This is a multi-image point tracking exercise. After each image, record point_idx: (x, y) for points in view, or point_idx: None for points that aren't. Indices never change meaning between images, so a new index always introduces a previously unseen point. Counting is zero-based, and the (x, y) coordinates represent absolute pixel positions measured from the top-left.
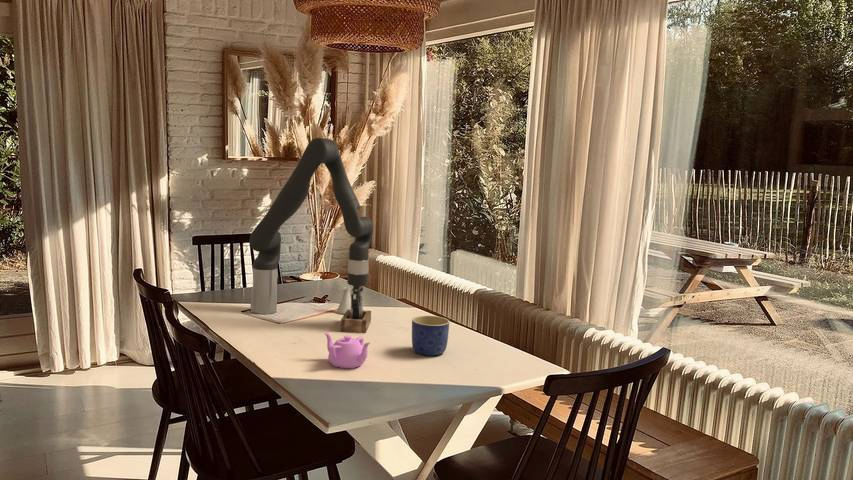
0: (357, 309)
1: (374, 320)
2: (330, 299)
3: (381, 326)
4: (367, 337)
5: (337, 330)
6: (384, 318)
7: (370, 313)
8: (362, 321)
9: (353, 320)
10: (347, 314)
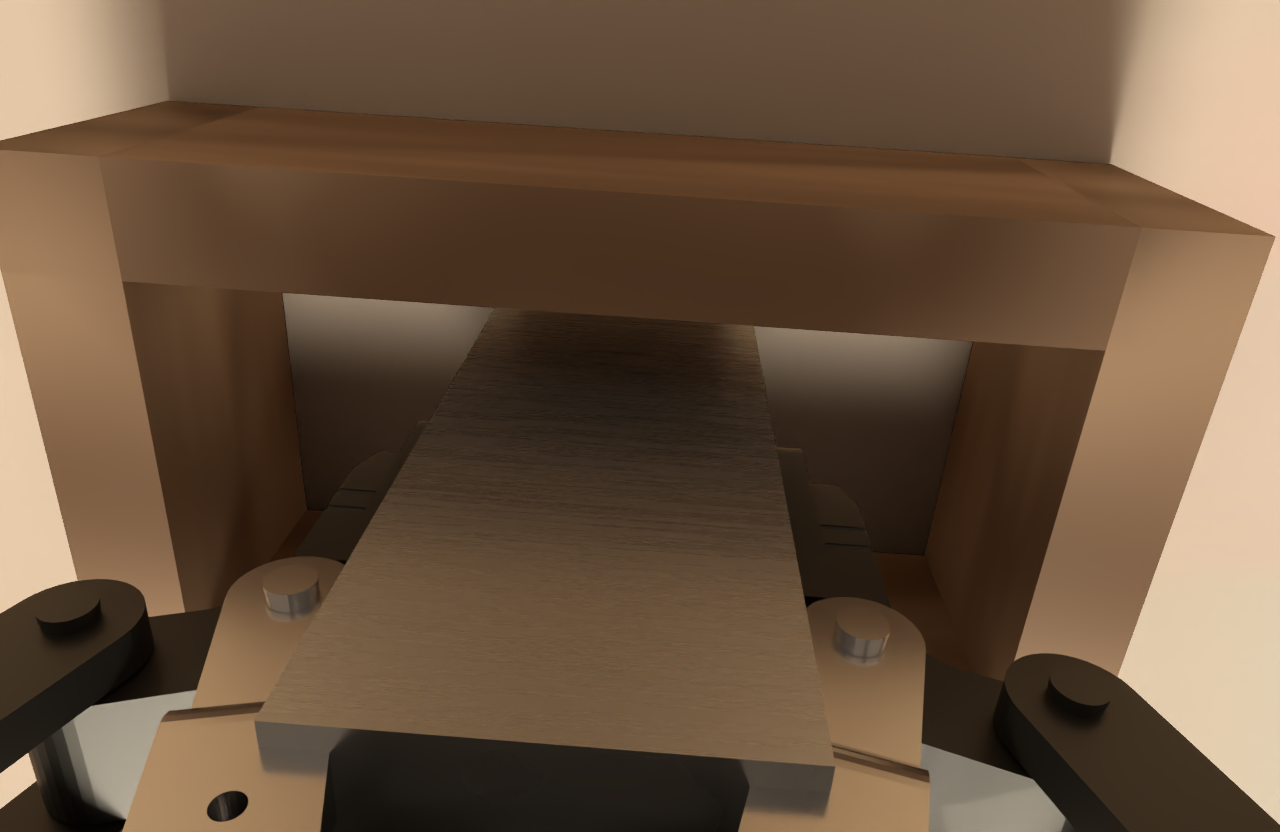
0: None
1: (1139, 676)
2: None
3: None
4: (14, 601)
5: (248, 13)
6: (1272, 813)
7: None
8: None
9: (55, 481)
10: (614, 287)
